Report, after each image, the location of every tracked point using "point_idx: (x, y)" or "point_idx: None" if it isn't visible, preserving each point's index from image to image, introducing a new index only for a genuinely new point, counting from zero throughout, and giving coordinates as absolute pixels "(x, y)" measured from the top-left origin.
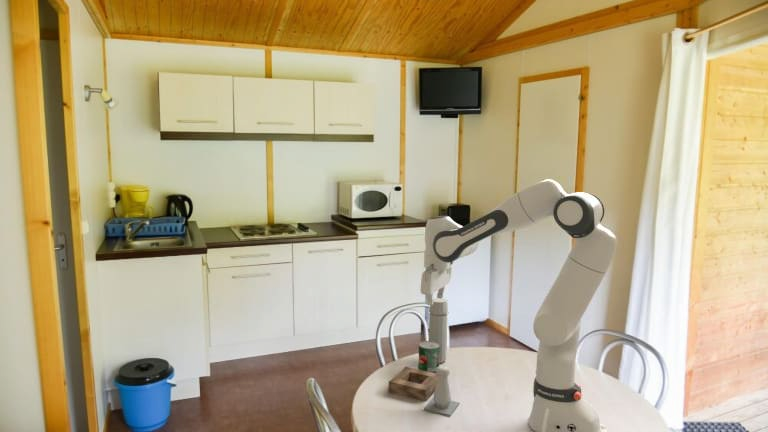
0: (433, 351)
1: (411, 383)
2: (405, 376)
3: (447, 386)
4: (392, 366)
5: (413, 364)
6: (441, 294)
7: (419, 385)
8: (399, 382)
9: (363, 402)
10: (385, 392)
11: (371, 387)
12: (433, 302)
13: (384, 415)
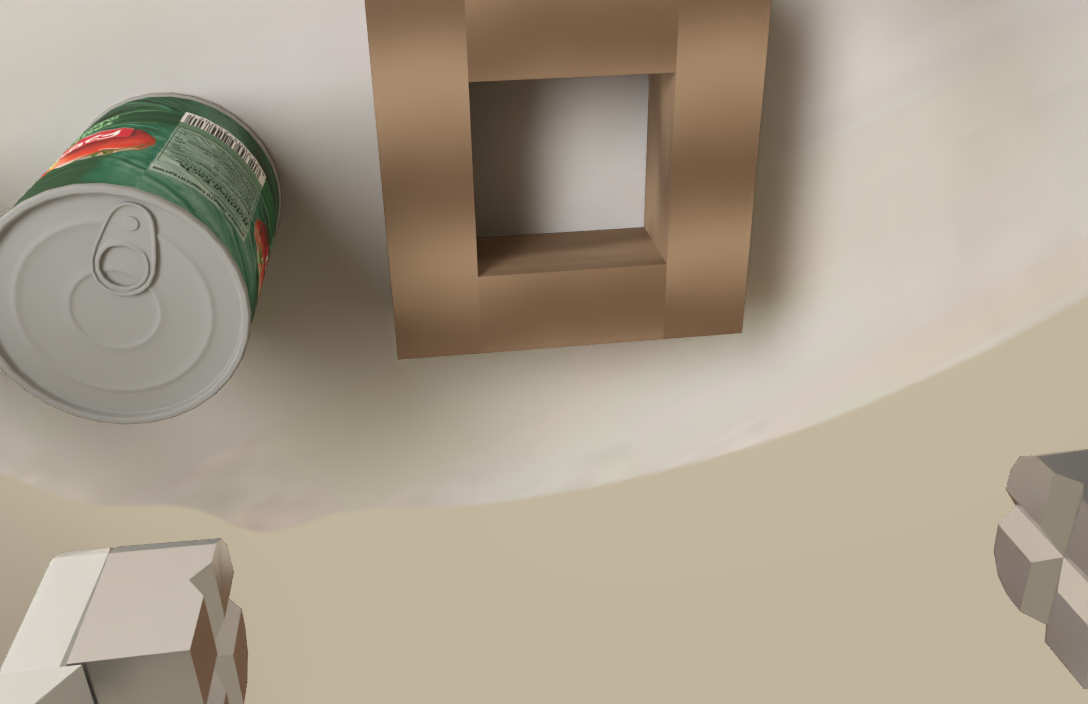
0: (196, 203)
1: (700, 155)
2: (580, 267)
3: None
4: (274, 489)
5: None
6: (197, 645)
7: (709, 72)
8: (724, 251)
9: (920, 355)
10: None
11: (693, 427)
12: (1076, 477)
13: (1050, 144)
